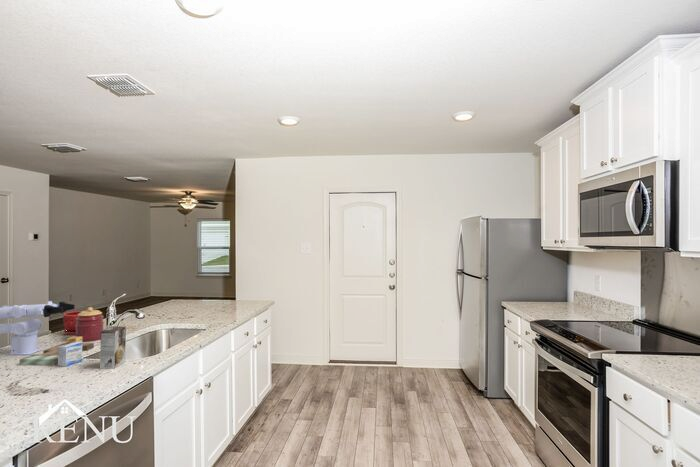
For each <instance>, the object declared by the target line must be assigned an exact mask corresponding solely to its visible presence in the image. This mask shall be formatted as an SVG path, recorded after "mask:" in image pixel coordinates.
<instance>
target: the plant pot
mask: <svg viewBox="0 0 700 467" xmlns="http://www.w3.org/2000/svg"><path fill="white" fill-rule="evenodd" d="M82 311H83V310H81V311H69V312H64V313H63V317H62V318H63V319H62V321H63V323H62V324H63V326H64V329H65V330H63V333H64V334H65V335H67V336H68V335H69V336H72V335H73V336H75V335H76V326H75V325H76V323H77V321H76V320H75V319H76V318H78V314H79V313H81V312H82ZM66 330H67V331H66Z"/></svg>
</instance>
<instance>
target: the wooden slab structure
mask: <svg viewBox="0 0 700 467" xmlns="http://www.w3.org/2000/svg"><path fill="white" fill-rule="evenodd" d="M66 344H67V342H62V343H60V344H56V345H53V346H52V347H49V348H46V349H43V350H42V352H43V353H41V354H38V353H32V354H29V355H26V356H24V357H22V358H19V366H55V365H58V347H59V346H63V345H66ZM94 344H95V343H94V342H82V352H88V351H89V350H92V349H94V346H95V345H94Z"/></svg>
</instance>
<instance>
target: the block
mask: <svg viewBox="0 0 700 467" xmlns="http://www.w3.org/2000/svg"><path fill="white" fill-rule="evenodd" d="M73 342H82V336H75V335H73V336H70V337H69V338H66V343H67V344H70V343H73ZM82 343H83V342H82Z"/></svg>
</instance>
